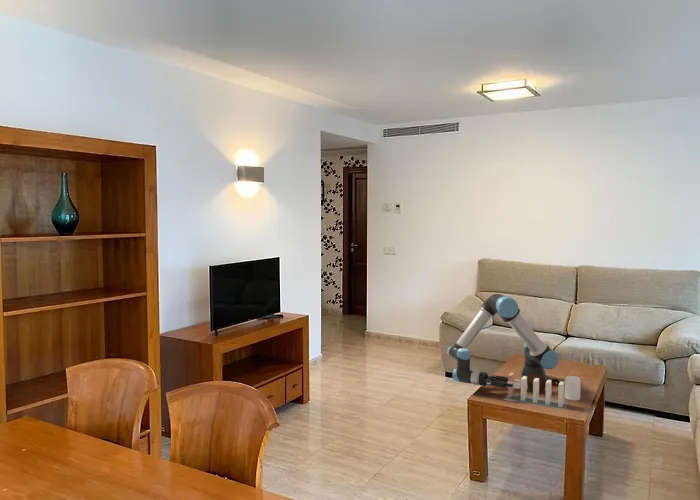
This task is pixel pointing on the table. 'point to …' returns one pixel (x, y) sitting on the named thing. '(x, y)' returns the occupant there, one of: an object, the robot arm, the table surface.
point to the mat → (540, 402)
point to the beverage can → (572, 388)
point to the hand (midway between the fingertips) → (520, 384)
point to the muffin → (541, 382)
